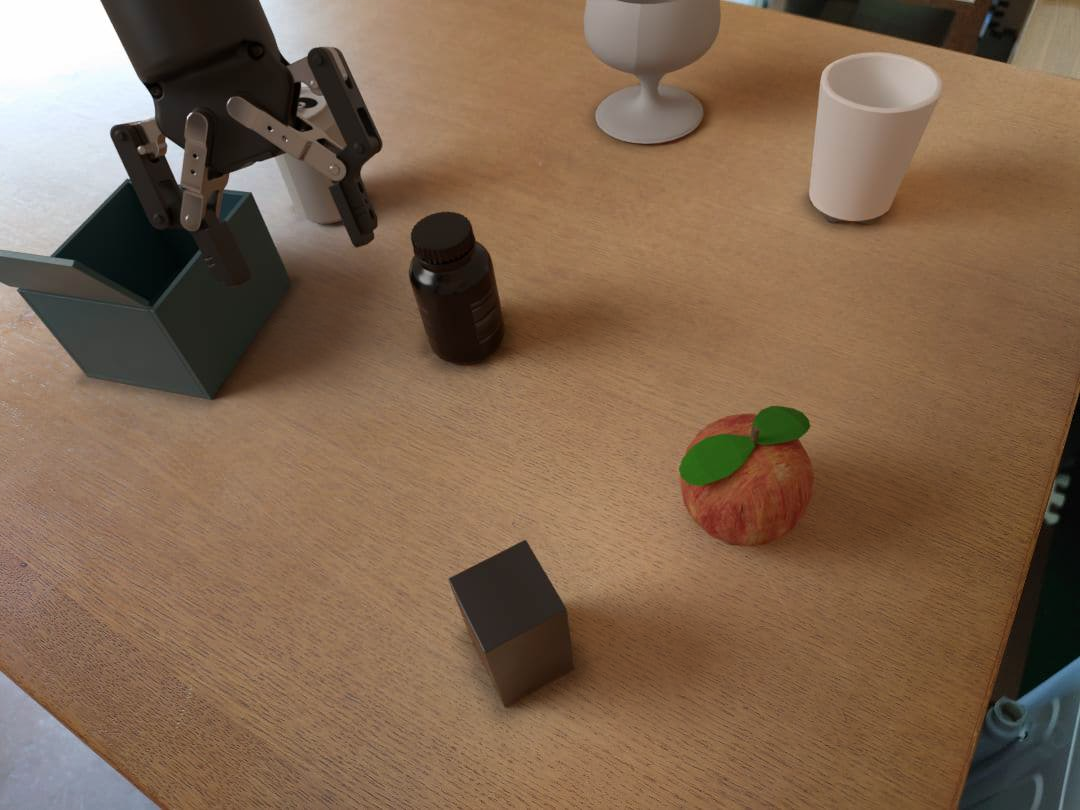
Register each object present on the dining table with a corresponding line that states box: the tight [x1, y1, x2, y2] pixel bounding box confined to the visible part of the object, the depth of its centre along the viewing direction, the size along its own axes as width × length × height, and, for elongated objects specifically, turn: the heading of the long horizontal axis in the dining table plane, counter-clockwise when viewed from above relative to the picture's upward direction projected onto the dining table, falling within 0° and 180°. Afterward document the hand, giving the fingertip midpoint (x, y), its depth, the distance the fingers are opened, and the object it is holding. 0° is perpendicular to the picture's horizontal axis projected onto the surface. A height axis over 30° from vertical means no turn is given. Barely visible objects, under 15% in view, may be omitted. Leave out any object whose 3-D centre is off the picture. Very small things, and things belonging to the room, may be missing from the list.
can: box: [274, 86, 347, 225], centre depth 78 cm, size 8×8×12 cm
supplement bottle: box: [408, 211, 506, 365], centre depth 64 cm, size 7×7×12 cm
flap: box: [0, 249, 149, 308], centre depth 56 cm, size 7×13×1 cm
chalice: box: [583, 0, 722, 145], centre depth 83 cm, size 14×14×15 cm
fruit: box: [678, 405, 815, 548], centre depth 51 cm, size 9×10×10 cm
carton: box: [16, 178, 292, 400], centre depth 68 cm, size 15×13×10 cm
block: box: [447, 539, 576, 709], centre depth 47 cm, size 5×5×9 cm
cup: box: [808, 51, 944, 226], centre depth 71 cm, size 10×10×13 cm
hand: (302, 263), depth 47 cm, fingers open, 8 cm apart
